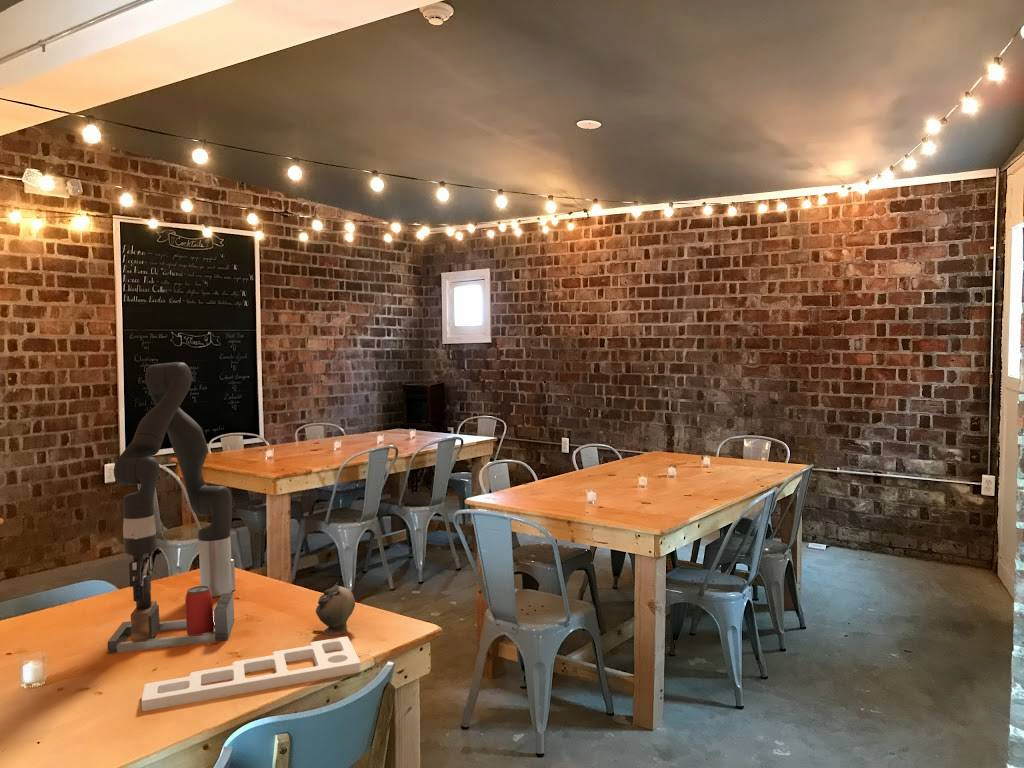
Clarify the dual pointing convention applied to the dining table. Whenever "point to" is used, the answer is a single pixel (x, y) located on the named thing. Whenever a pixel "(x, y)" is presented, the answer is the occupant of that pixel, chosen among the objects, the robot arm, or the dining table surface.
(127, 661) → the dining table surface
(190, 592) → the beer can
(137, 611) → the sliding jaw
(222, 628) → the frame
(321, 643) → the holder
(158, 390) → the robot arm
